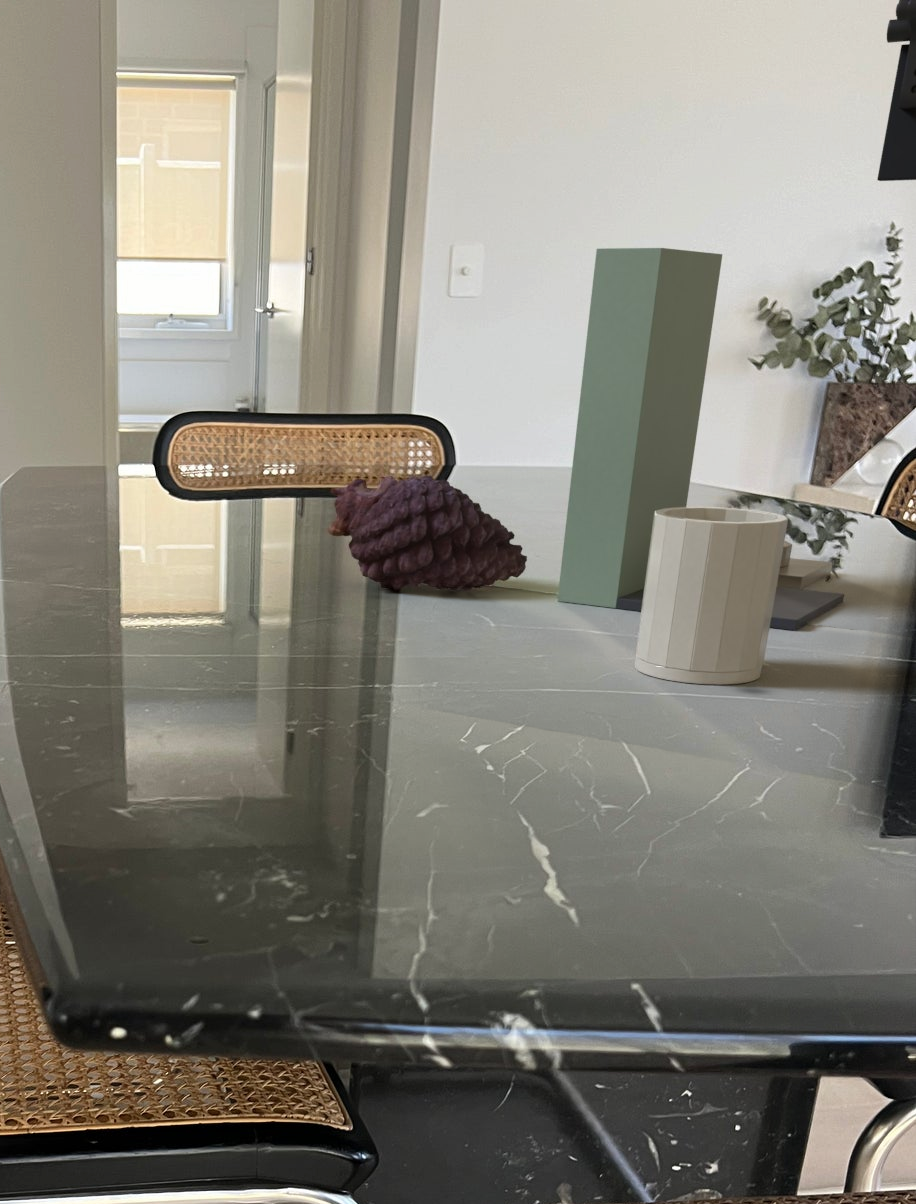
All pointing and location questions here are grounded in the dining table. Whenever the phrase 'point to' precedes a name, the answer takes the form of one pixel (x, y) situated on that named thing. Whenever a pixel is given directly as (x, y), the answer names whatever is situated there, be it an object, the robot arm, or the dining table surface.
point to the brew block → (800, 570)
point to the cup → (709, 594)
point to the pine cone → (424, 535)
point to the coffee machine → (643, 424)
